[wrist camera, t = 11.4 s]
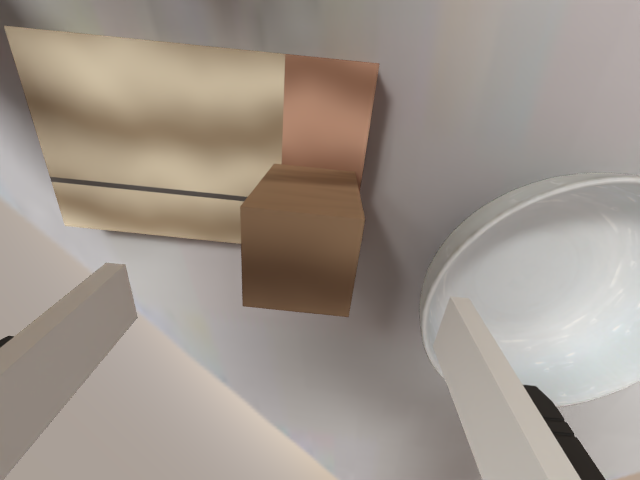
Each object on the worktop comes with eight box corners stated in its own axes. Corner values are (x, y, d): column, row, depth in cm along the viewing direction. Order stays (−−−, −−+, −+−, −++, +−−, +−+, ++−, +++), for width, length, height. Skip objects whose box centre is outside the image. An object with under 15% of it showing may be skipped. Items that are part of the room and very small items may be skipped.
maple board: (37, 31, 22) (3, 25, 20) (374, 65, 22) (379, 63, 20) (86, 214, 28) (65, 225, 26) (348, 241, 28) (350, 254, 26)
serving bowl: (538, 373, 35) (581, 436, 28) (367, 312, 32) (375, 367, 26) (708, 212, 26) (826, 253, 19) (491, 109, 23) (548, 118, 17)
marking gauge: (278, 158, 25) (240, 206, 15) (353, 166, 24) (365, 219, 15) (275, 249, 28) (243, 335, 19) (341, 256, 28) (343, 345, 19)
